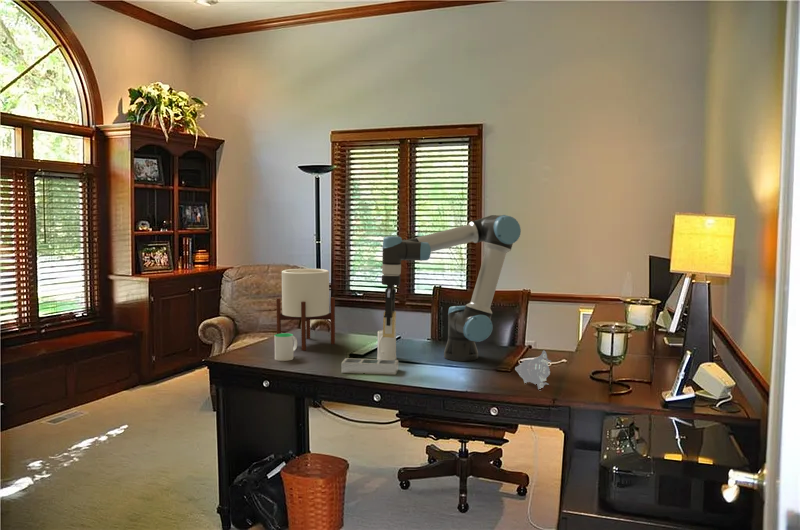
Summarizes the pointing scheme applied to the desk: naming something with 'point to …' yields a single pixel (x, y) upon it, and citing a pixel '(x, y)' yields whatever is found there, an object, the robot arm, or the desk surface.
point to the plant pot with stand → (305, 300)
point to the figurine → (535, 370)
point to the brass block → (392, 325)
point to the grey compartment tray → (369, 366)
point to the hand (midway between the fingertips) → (389, 332)
